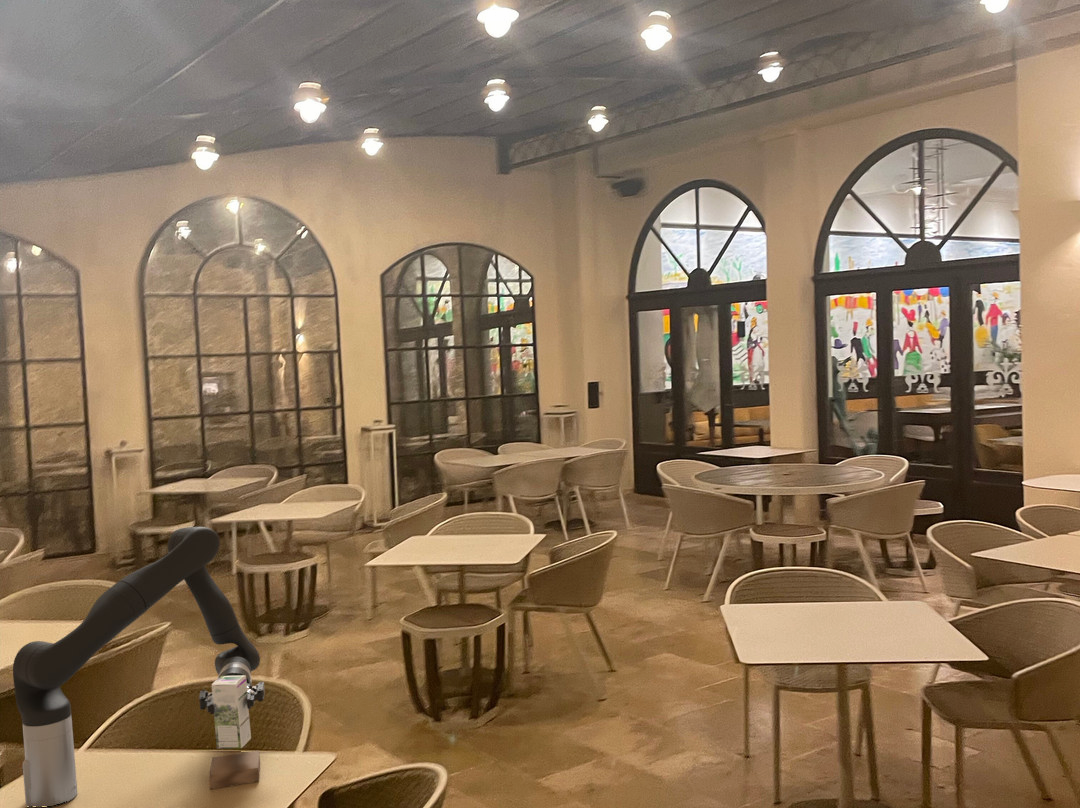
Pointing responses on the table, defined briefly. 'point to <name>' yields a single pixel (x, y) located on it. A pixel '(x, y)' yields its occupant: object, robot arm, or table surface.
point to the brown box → (234, 769)
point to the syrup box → (231, 712)
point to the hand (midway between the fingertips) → (230, 706)
